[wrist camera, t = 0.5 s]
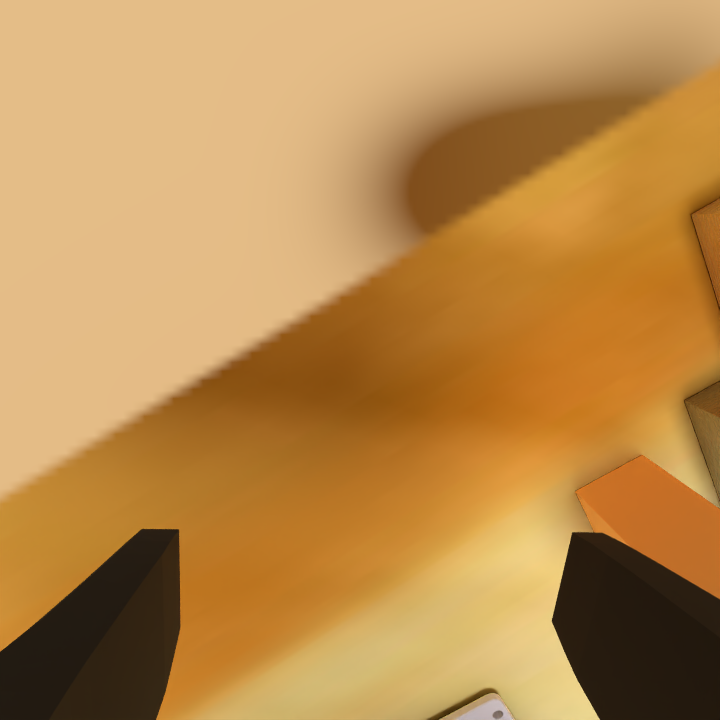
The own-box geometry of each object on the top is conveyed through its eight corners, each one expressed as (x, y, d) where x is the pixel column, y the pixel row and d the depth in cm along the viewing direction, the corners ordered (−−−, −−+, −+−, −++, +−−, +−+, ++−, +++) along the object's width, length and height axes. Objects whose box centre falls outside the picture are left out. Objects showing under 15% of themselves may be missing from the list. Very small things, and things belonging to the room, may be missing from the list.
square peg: (664, 510, 22) (862, 670, 14) (600, 544, 22) (762, 722, 14) (642, 454, 21) (842, 594, 13) (575, 491, 21) (733, 650, 13)
